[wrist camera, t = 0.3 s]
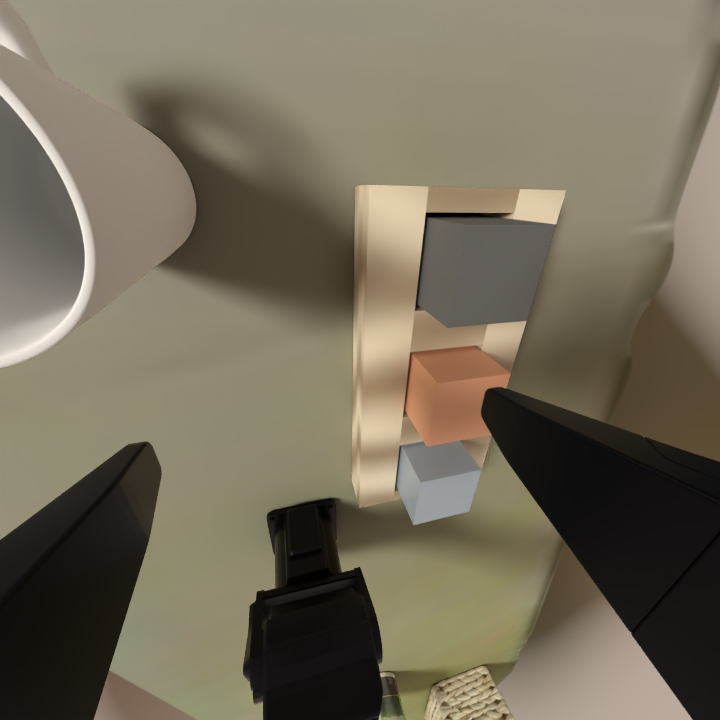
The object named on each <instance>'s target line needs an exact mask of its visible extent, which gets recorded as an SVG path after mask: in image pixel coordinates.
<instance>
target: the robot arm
mask: <svg viewBox="0 0 720 720" xmlns="http://www.w3.org/2000/svg"><path fill="white" fill-rule="evenodd" d="M481 417H482V419H483V421H484V423H485V424H486V426H487V428H488V430H489V431H490V433H491V435H492V436H493V438H494V440H495V442H496V443H497V445H498V447H499V448H500V450H501V452H502V454H503V455H504V457H505V458H506V460H507V462H508V463H509V465H510V466H511V467H512V469H513V470H514V472H515V473H516V474H517V476H518V477H519V479H520V480H521V481H522V483H523V484H524V486H525V487H526V488H527V490H528V491H529V492H530V494H531V495H532V497H533V498H534V499H535V501H536V502H537V504H538V505H539V506H540V508H541V509H542V511H543V512H544V513H545V515H546V516H547V517H548V519H549V520H550V522H551V523H552V524H553V526H554V527H555V529H556V530H557V531H558V533H559V534H560V536H561V537H562V538H563V540H564V541H565V542H566V544H567V545H568V547H569V548H570V549H571V551H572V552H573V553H574V555H575V556H576V558H577V559H578V561H579V562H580V563H581V565H582V566H583V567H584V569H585V570H586V572H587V573H588V574H589V576H590V577H591V579H592V580H593V581H594V583H595V584H596V585H597V587H598V588H599V590H600V591H601V592H602V594H603V595H604V597H605V598H606V599H607V601H608V602H609V604H610V605H611V606H612V608H613V609H614V610H615V612H616V613H617V615H618V616H619V617H620V619H621V620H622V622H623V623H624V624H625V626H626V627H627V628H628V630H629V631H630V632H632V633H631V634H632V636H633V637H634V639H635V640H636V641H637V643H638V644H639V646H640V647H641V648H642V650H643V651H644V652H645V654H646V655H647V657H648V658H649V660H650V661H651V662H652V664H653V665H654V666H655V668H656V669H657V671H658V672H659V673H660V675H661V676H662V678H663V679H664V680H665V682H666V683H667V685H668V686H669V687H670V689H671V690H672V691H673V693H674V694H675V696H676V697H677V699H678V700H679V701H680V703H681V704H682V705H683V707H684V708H685V710H686V711H687V712H688V714H689V715H690V717H691V718H692V719H693V720H720V462H719V461H716V460H713V459H709V458H706V457H703V456H700V455H697V454H694V453H690V452H688V451H685V450H682V449H679V448H676V447H673V446H670V445H667V444H664V443H661V442H658V441H655V440H652V439H650V438H646V437H645V438H644V437H643V436H641V435H638V434H635V433H632V432H629V431H626V430H623V429H620V428H618V427H615V426H612V425H609V424H606V423H603V422H601V421H598V420H595V419H592V418H589V417H586V416H583V415H580V414H578V413H575V412H572V411H569V410H566V409H563V408H560V407H557V406H555V405H552V404H549V403H546V402H543V401H540V400H537V399H534V398H532V397H529V396H526V395H523V394H520V393H517V392H514V391H511V390H509V389H506V388H503V387H494V388H489V389H487V390H486V391H485V394H484V398H483V403H482V407H481ZM160 481H161V466H160V464H159V461H158V459H157V456H156V454H155V451H154V449H153V447H152V445H151V444H150V443H149V442H139V443H133V444H129V445H127V446H125V447H124V448H122V449H121V450H120V451H118V452H117V453H116V454H114V455H113V456H112V457H110V458H109V459H108V460H106V461H105V462H104V463H102V464H101V465H100V466H98V467H97V468H96V469H94V470H93V471H92V472H90V473H89V474H88V475H86V476H85V477H84V478H82V479H81V480H80V481H78V482H77V483H76V484H74V485H73V486H72V487H70V488H69V489H68V490H66V491H65V492H64V493H62V494H61V495H60V496H58V497H57V498H56V499H54V500H53V501H52V502H50V503H49V504H48V505H46V506H45V507H44V508H42V509H41V510H40V511H38V512H37V513H36V514H34V515H33V516H32V517H30V518H29V519H28V520H26V521H25V522H24V523H22V524H21V525H20V526H18V527H17V528H16V529H14V530H13V531H12V532H10V533H9V534H8V535H6V536H5V537H4V538H2V539H1V540H0V720H93V719H94V716H95V713H96V710H97V707H98V704H99V700H100V697H101V694H102V691H103V687H104V684H105V681H106V678H107V675H108V671H109V668H110V665H111V662H112V659H113V655H114V652H115V649H116V646H117V642H118V639H119V636H120V633H121V630H122V626H123V623H124V620H125V617H126V613H127V610H128V607H129V604H130V601H131V597H132V594H133V591H134V588H135V584H136V581H137V578H138V575H139V572H140V568H141V565H142V562H143V559H144V555H145V552H146V549H147V545H148V542H149V537H150V533H151V528H152V523H153V518H154V512H155V507H156V502H157V496H158V491H159V486H160ZM267 523H268V528H269V533H270V538H271V542H272V547H273V552H274V555H275V587H276V588H275V589H271V590H267V591H264V590H262V591H257V596H256V601H255V602H254V603H253V604H251V605H250V612H249V629H248V638H247V644H246V651H245V658H244V665H243V675H244V676H245V678H246V679H247V680H248V681H249V682H250V686H251V690H253V701H254V704H258V703H261V702H263V720H379V716H380V712H381V705H382V696H383V687H382V681H381V676H380V671H379V666H378V664H380V663H382V643H381V636H380V630H379V626H378V621H377V617H376V613H375V610H374V607H373V604H372V601H371V598H370V595H369V592H368V589H367V586H366V583H365V580H364V577H363V574H362V571H361V568H360V567H358V568H354V570H351V571H346V572H342V571H341V566H340V561H339V556H338V550H337V545H336V539H337V533H336V504H335V500H333V499H329V500H324V501H319V502H315V503H310V504H305V505H300V506H296V507H291V508H286V509H282V510H277V511H272V512H269V513H268V514H267Z"/></svg>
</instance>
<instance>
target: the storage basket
mask: <svg viewBox="0 0 720 720" xmlns="http://www.w3.org/2000/svg"><path fill="white" fill-rule="evenodd" d="M424 716H425V717H424V719H425V720H514V717H513V715H512V714H511V713H510V710H509V708H508V706H507V705H506V702H505V700H504V699H503V698H502V695H501V692H500V691H499V690H498V687H497V686H496V684H495V682H494V681H493V680H492V677H491V675H490V674H489V671H488V669H487V667H486V666H479V667H477V668H475V669H471V670H469V671H467V672H463V673H461V674H458V675H456V676H452V677H450V678H448V679H447V680H442V681H440V682H439V683H438V684H436V685H434V686H433V687H432V690H431V693H430V696H429V700H428V704H427V707H426V711H425V714H424Z"/></svg>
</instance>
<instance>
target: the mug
mask: <svg viewBox="0 0 720 720" xmlns="http://www.w3.org/2000/svg"><path fill="white" fill-rule="evenodd" d="M195 218H196V199H195V193H194V189H193V186H192V183H191V181H190V178H189V176H188V174H187V172H186V170H185V168H184V167H183V165H182V163H181V162H180V161H179V159H178V158H177V156H176V155H175V154H174V153H173V152H172V150H171V149H170V148H169V147H168V146H167V145H166V144H165V143H164V142H163V141H161V140H160V139H159V138H158V137H157V136H155V135H154V134H153V133H152V132H150V131H149V130H147V129H146V128H144V127H142V126H141V125H139V124H138V123H136V122H135V121H133V120H132V119H130V118H128V117H127V116H125V115H123V114H121V113H120V112H118V111H116V110H114V109H113V108H111V107H109V106H107V105H105V104H104V103H102V102H100V101H98V100H97V99H95V98H93V97H91V96H89V95H88V94H86V93H84V92H82V91H81V90H79V89H77V88H76V87H74V86H72V85H70V84H69V83H67V82H65V81H63V80H62V79H60V78H58V77H56V76H55V75H54V73H53V72H52V70H51V68H50V66H49V65H48V63H47V61H46V60H45V58H44V56H43V54H42V52H41V50H40V49H39V47H38V45H37V43H36V41H35V39H34V37H33V35H32V33H31V31H30V29H29V27H28V26H27V24H26V23H25V21H24V20H23V18H22V17H21V16H20V15H19V14H18V12H17V11H16V10H15V9H14V8H13V7H12V6H11V5H10V4H9V3H8V2H7V1H6V0H0V368H5V367H9V366H13V365H16V364H19V363H22V362H25V361H27V360H30V359H32V358H34V357H36V356H38V355H40V354H42V353H44V352H46V351H47V350H49V349H51V348H52V347H54V346H55V345H57V344H58V343H59V342H61V341H62V340H63V339H64V338H65V337H67V336H68V335H69V334H70V333H71V332H72V331H73V330H74V329H76V328H77V327H79V326H80V325H81V324H83V323H84V322H86V321H87V320H88V319H90V318H91V317H92V316H94V315H95V314H96V313H98V312H99V311H100V310H102V309H103V308H104V307H105V306H107V305H108V304H109V303H110V302H112V301H113V300H114V299H115V298H117V297H118V296H119V295H120V294H122V293H123V292H124V291H125V290H127V289H128V288H129V287H130V286H132V285H133V284H134V283H136V282H137V281H138V280H139V279H141V278H142V277H143V276H144V275H146V274H147V273H148V272H149V271H151V270H152V269H153V268H154V267H156V266H157V265H158V264H160V263H161V262H162V261H164V260H165V259H166V258H167V257H169V256H170V255H171V254H172V253H174V252H175V251H176V250H177V249H178V248H179V247H180V246H181V245H182V244H183V243H184V242H185V241H186V239H187V238H188V237H189V235H190V233H191V231H192V229H193V226H194V223H195Z"/></svg>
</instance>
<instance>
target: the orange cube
mask: <svg viewBox="0 0 720 720" xmlns="http://www.w3.org/2000/svg"><path fill="white" fill-rule="evenodd" d="M510 375H511V373H509V372H508V371H507V370H506V369H504V368H503V367H502V366H500V365H499V364H498V363H496V362H495V361H494V360H492V359H491V358H490V357H489V356H487V355H486V354H485V353H483V352H482V351H481V350H479V349H478V348H477V347H475V346H465V347H455V348H446V349H436V350H427V351H418V352H410V357H409V366H408V375H407V384H406V393H405V402H404V410H405V412H406V413H407V415H408V417H409V418H410V420H411V422H412V423H413V425H414V426H415V428H416V430H417V431H418V433H419V435H420V436H421V438H422V439H423V441H424V443H425V444H426V446H427V447H428V446H433V445H438V444H444V443H449V442H455V441H460V440H465V439H471V438H476V437H482V436H487V435H491V433H490V431H489V430H488V428H487V426H486V424H485V423H484V421H483V419H482V417H481V407H482V403H483V398H484V394H485V391H486V390H487V389H489V388H494V387H503V388H507V385H508V382H509V378H510Z"/></svg>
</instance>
